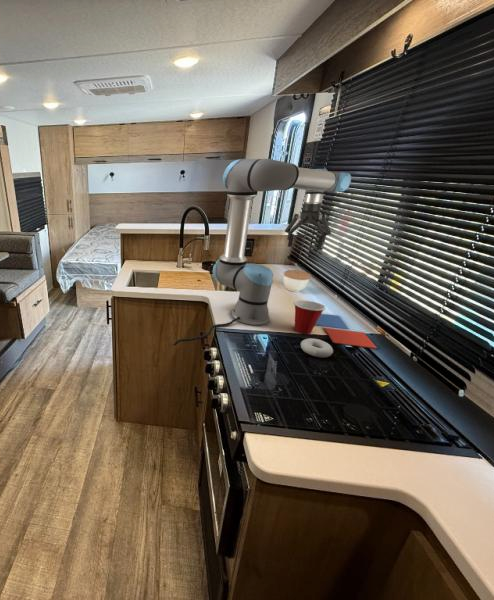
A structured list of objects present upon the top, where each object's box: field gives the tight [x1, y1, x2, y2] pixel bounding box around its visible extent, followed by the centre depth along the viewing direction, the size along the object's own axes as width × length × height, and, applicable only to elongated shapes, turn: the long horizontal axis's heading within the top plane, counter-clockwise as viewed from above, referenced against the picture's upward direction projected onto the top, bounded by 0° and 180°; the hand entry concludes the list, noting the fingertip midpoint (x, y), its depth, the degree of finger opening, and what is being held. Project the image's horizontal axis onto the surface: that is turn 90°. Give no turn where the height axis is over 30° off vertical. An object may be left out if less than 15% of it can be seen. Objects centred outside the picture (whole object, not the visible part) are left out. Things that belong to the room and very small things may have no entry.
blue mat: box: [315, 313, 349, 330], centre depth 134 cm, size 12×14×1 cm
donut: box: [300, 338, 334, 359], centre depth 111 cm, size 10×4×10 cm
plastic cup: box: [293, 299, 326, 335], centre depth 123 cm, size 11×11×12 cm
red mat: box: [323, 327, 378, 350], centre depth 120 cm, size 12×14×1 cm
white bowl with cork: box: [282, 269, 312, 293], centre depth 165 cm, size 13×13×11 cm
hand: (303, 248), depth 154 cm, fingers open, 13 cm apart
